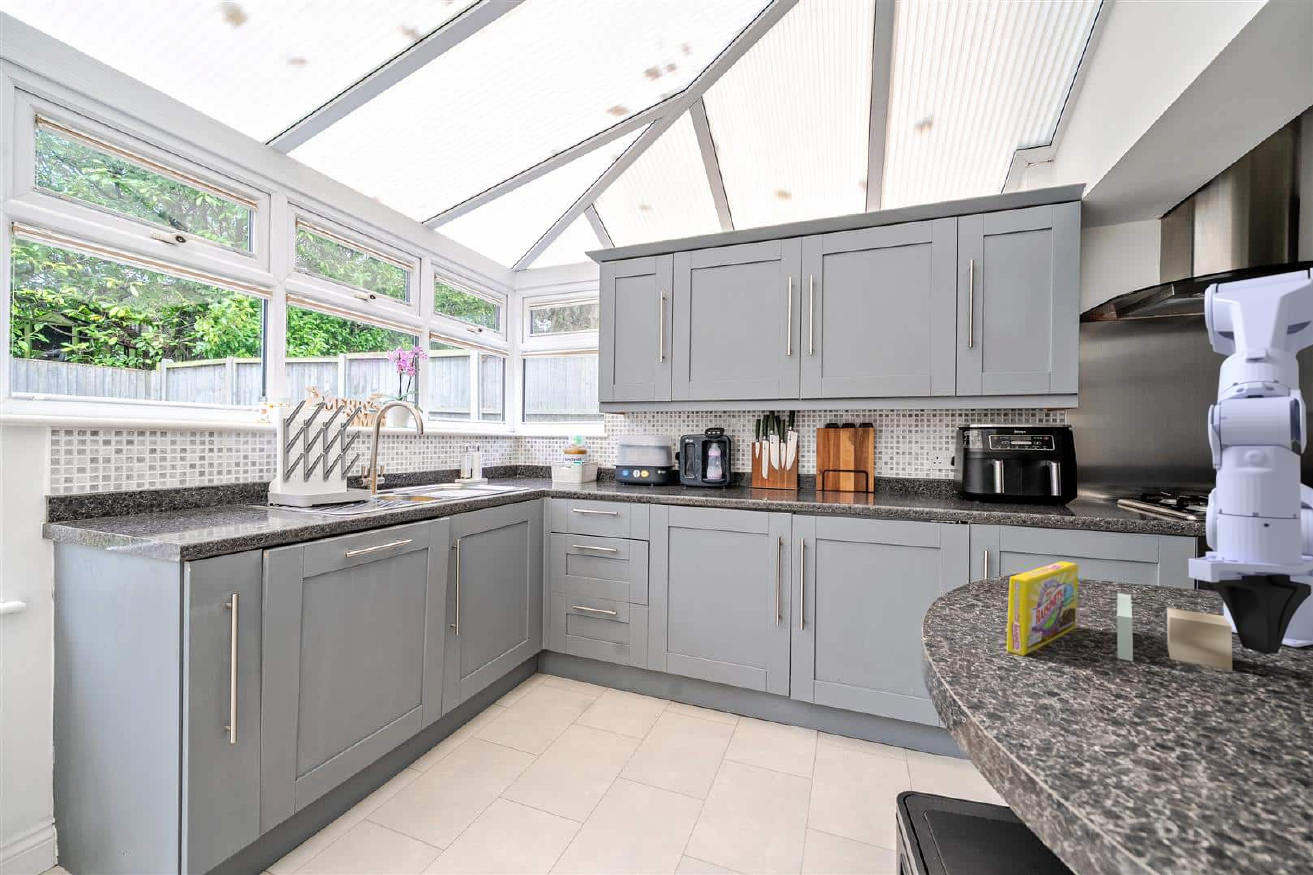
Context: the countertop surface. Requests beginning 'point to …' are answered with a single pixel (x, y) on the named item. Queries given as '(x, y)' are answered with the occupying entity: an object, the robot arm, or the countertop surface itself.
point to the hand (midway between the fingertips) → (1259, 650)
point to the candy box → (1041, 606)
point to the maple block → (1199, 638)
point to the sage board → (1124, 627)
